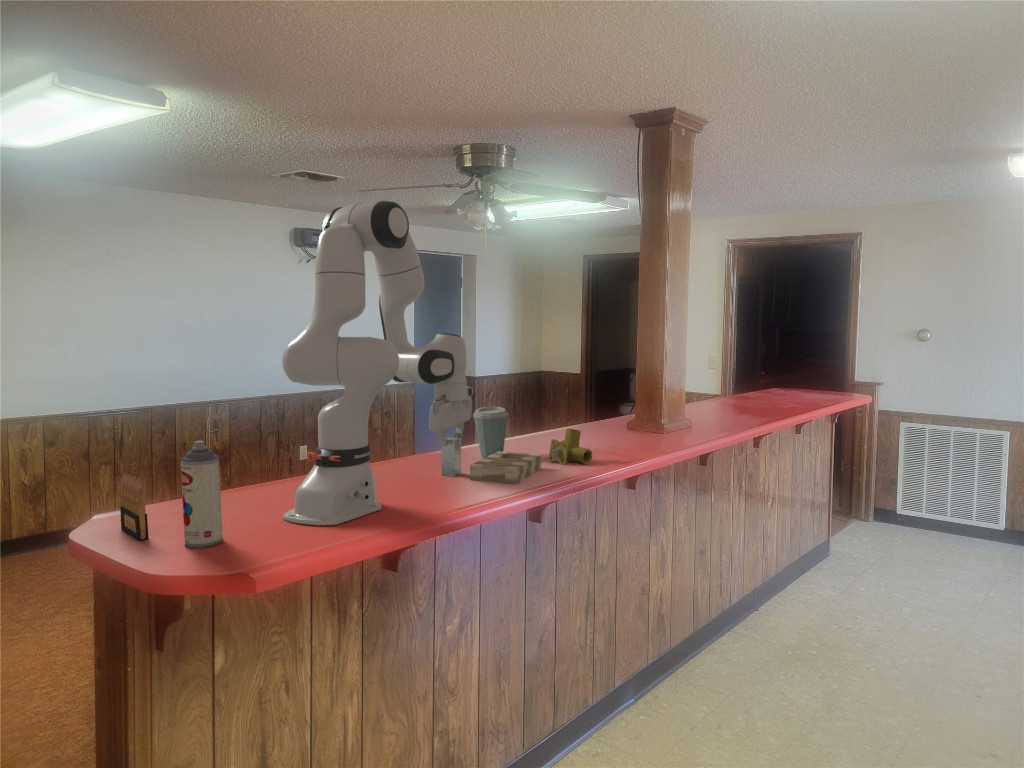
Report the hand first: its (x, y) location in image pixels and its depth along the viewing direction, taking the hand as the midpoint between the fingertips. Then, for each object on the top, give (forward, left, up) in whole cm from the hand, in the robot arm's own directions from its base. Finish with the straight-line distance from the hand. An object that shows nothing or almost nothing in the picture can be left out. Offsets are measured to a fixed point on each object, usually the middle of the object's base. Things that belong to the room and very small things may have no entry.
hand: (451, 442), depth 200 cm
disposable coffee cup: (+25, -1, -9) cm, 27 cm away
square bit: (-1, 0, -9) cm, 9 cm away
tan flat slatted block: (+5, -14, -9) cm, 18 cm away
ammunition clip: (-71, +37, -9) cm, 81 cm away
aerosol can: (-71, +20, -9) cm, 74 cm away
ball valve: (+26, -25, -9) cm, 38 cm away
